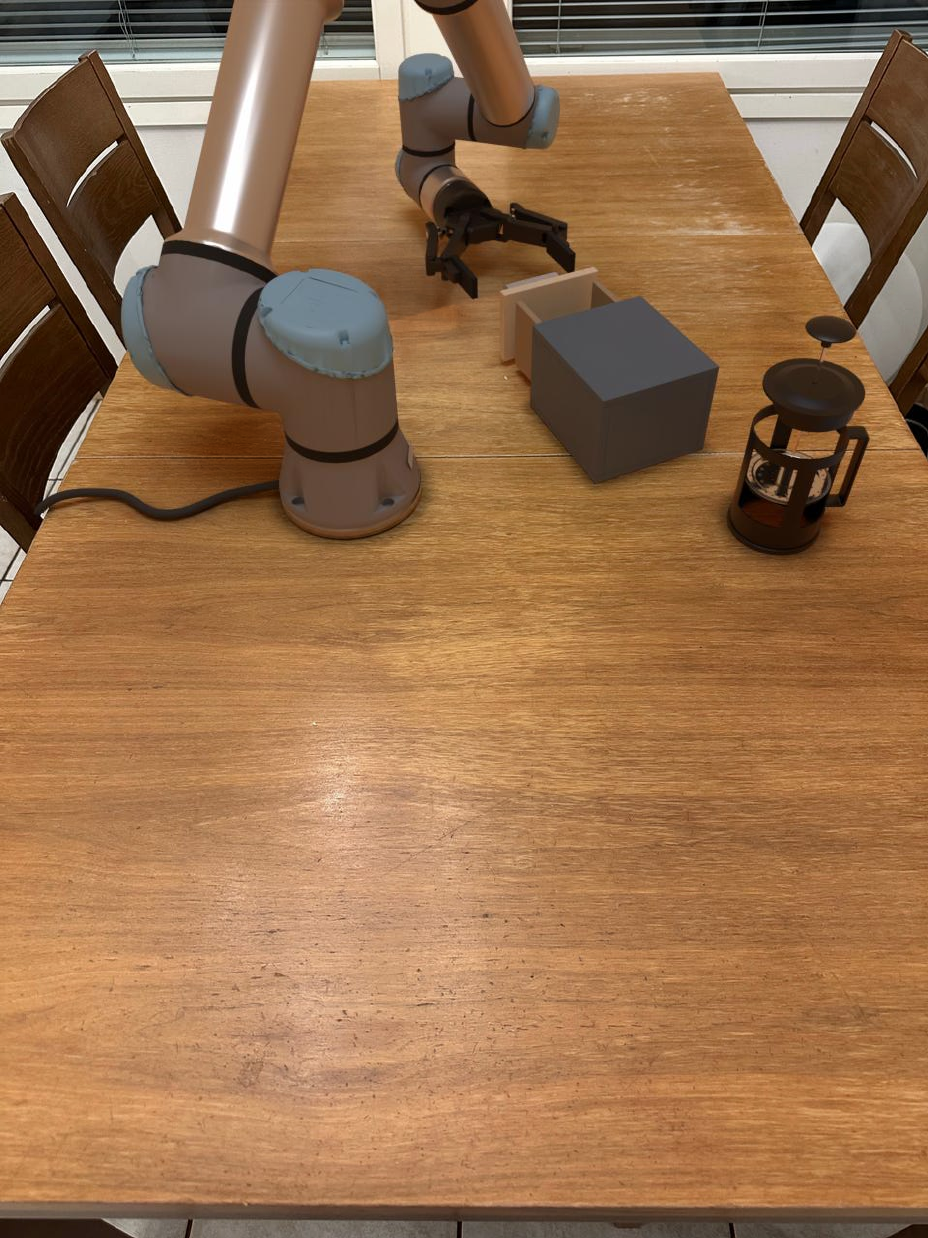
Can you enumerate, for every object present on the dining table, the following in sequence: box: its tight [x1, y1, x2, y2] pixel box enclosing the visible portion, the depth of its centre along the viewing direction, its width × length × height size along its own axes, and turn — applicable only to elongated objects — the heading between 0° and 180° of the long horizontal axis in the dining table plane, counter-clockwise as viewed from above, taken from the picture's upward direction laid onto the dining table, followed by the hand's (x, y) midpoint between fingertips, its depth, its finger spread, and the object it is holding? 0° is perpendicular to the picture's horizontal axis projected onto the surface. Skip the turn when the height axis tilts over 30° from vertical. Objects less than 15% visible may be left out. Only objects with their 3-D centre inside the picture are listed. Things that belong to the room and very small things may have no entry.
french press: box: [726, 315, 870, 556], centre depth 89 cm, size 12×9×23 cm
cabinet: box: [529, 295, 720, 485], centre depth 105 cm, size 16×14×11 cm
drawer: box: [499, 266, 621, 382], centre depth 113 cm, size 19×13×9 cm, turn 25°
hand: (524, 276), depth 118 cm, fingers open, 13 cm apart
